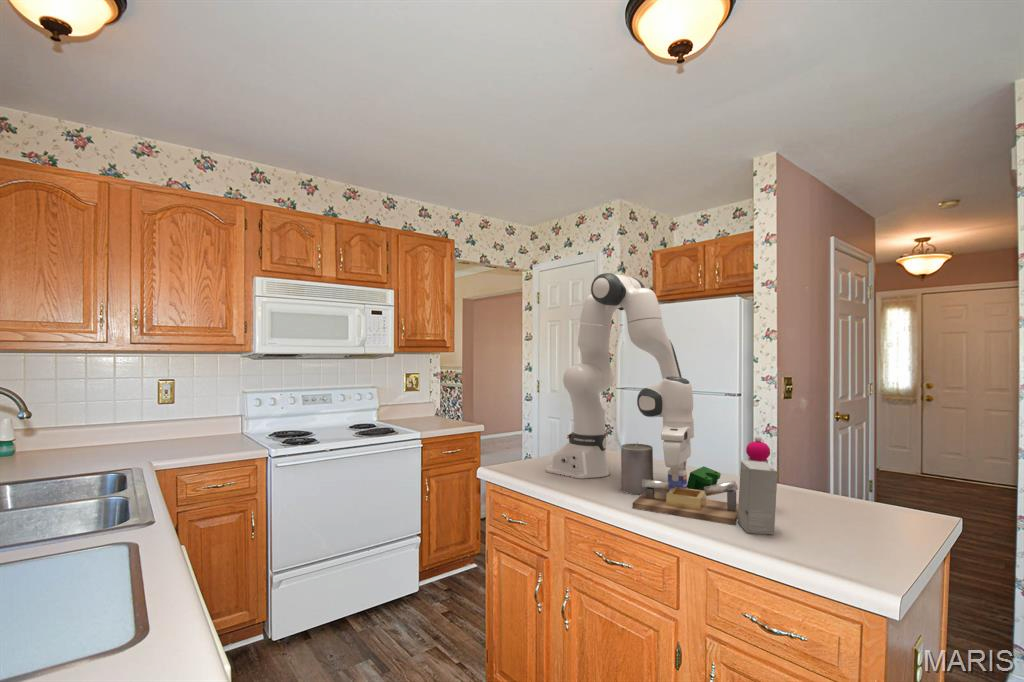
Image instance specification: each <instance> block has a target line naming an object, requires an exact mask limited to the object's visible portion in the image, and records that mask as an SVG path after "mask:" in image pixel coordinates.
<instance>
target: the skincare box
mask: <svg viewBox="0 0 1024 682" xmlns="http://www.w3.org/2000/svg"><path fill="white" fill-rule="evenodd" d="M739 471H740V472H739V488H738V490H739V491H738V503H737V504H738V519H737V523H738V524H739V525H740V526H741V528H742V529H743V530H744V532H746V533H747V534H757V535H767V534H772V535H771V536H773V535H775V526H776V523H775V522H776V508H777V507H776V506H777V492H778V491H777V488H778V486H777V485H778V470H777V469H775V468H774V466H773V465H770V464H769V462H768V463H766V462H756V461H749V460H743V459H742V460H740V470H739Z"/></svg>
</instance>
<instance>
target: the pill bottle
mask: <svg viewBox="0 0 1024 682" xmlns="http://www.w3.org/2000/svg"><path fill="white" fill-rule="evenodd" d="M683 469H684V463H683V464H681V465H680V466H679V480H678V481H673V480H672V473H671V468H670V469H668V471H667V482H669V489H668V491H667V493H668V492H669V491H670V490H671V489H672V488H673V487H681V488H687V483H688V479H687V478H688V475H687V470H686V471H685V470H683Z"/></svg>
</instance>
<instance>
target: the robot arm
mask: <svg viewBox="0 0 1024 682" xmlns="http://www.w3.org/2000/svg"><path fill="white" fill-rule="evenodd" d="M590 293H591V294H589V295H588V296H586V298H585V299H584V302H583V306H582V310H581V313H580V314H581V315H580V319H579V328H578V335H577V336H578V338H577V347H578V348H579V351H580V356H581V363H577V364H574V365H572V366H570V367H568V368H567V369H566V370H565V372H564V374H563V377H562V383H563V386H564V388H565V389H566V391H567V392H568V393H569V394H568V395H569V397H570V403H571V406H572V414H573V416H572V417H573V431H572V432H571V433H569V434H567V435H566V438H567V439H568V442H567V443H566V444H565V445H563V446H562V447H560V448H559V449H558V450H556V452H554V455H553V458H552V463H551V464H550V465H548V466H546V468H545V472H546V473H551V474H555V475H560V474H561V475H560V476H564V475H565V477H569V476H571V477H570V478H574V477H575V479H588V478H592V479H593V478H601V477H603V478H604V477H607V476H609V475H610V470H609V466H608V460H607V455H606V454H607V452H606V450H607V434H606V413H605V409H604V407H602V404H601V403H602V402H601V398H600V395H599V394H601V393H604V392H605V391H606V390H608V389H609V388H610V387H611V386H612V385H613V383H614V373H613V370H612V369H611V359H610V341H611V331H612V322H613V317H614V316H613V315H614V313H615V312H616V311H617V310H619V311H624V312H625V314H626V315H625V316H626V323H627V325H626V326H627V333H628V335H629V340H630V341H631V343H632V344H634V346H636V347H637V348H638V349H640V350H641V351H644V352H646V353H648V354H649V355H651V356H653V357H654V358H655V360H656V361H657V364H658V366H659V370H660V373H661V377H662V380H661V381H660V382H659V383H657V384H653V385H651V386H649V387H645V388H642V389H641V390H640V391H639V392H638V394H637V398H636V405H637V409H638V410H639V412H640V414H642V415H643V416H645V417H648V418H662V430H661V433H660V438H661V440H662V441H663V442H662V443H663V445H662V446H663V447H662V449H663V457H664V458H663V460H664V465H665V466H666V468H670V469H671V473H672V480H673V481H678V480H679V466H680V465H681V464H683V463H684V469H683V470H685V471H686V472H687V469H686V468H687V464H688V462H687V461H688V459H689V458H690V457H691V453H692V448H691V447H692V445H691V439H693V438H694V437H695V435H694V434H695V432H694V431H695V428H694V427H695V426H694V425H695V424H694V423H695V422H694V421H695V420H694V417H693V410H694V395H693V394H694V393H693V387H692V384H691V382H690V381H689V380H688V379H687V378H684V377H682V376H683V375H682V372H681V369H680V365H679V362H678V358H677V355H676V351H675V348H674V345H673V343H672V341H671V339H669V336H668V335H667V333H666V330H665V328H664V323H663V317H662V312H661V308H660V307H661V306H660V303H659V300H658V298H657V295H656V293H655V292H654V291H653V290H652V289H650V288H647V287H645V284H643V282H642V281H641V280H639V279H637V278H635V277H631V276H628V275H625V274H615V273H612V272H605V273H600V274H598V275H597V276H596V277H595V278H594V279H593V281H592V282H591V285H590Z"/></svg>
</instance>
